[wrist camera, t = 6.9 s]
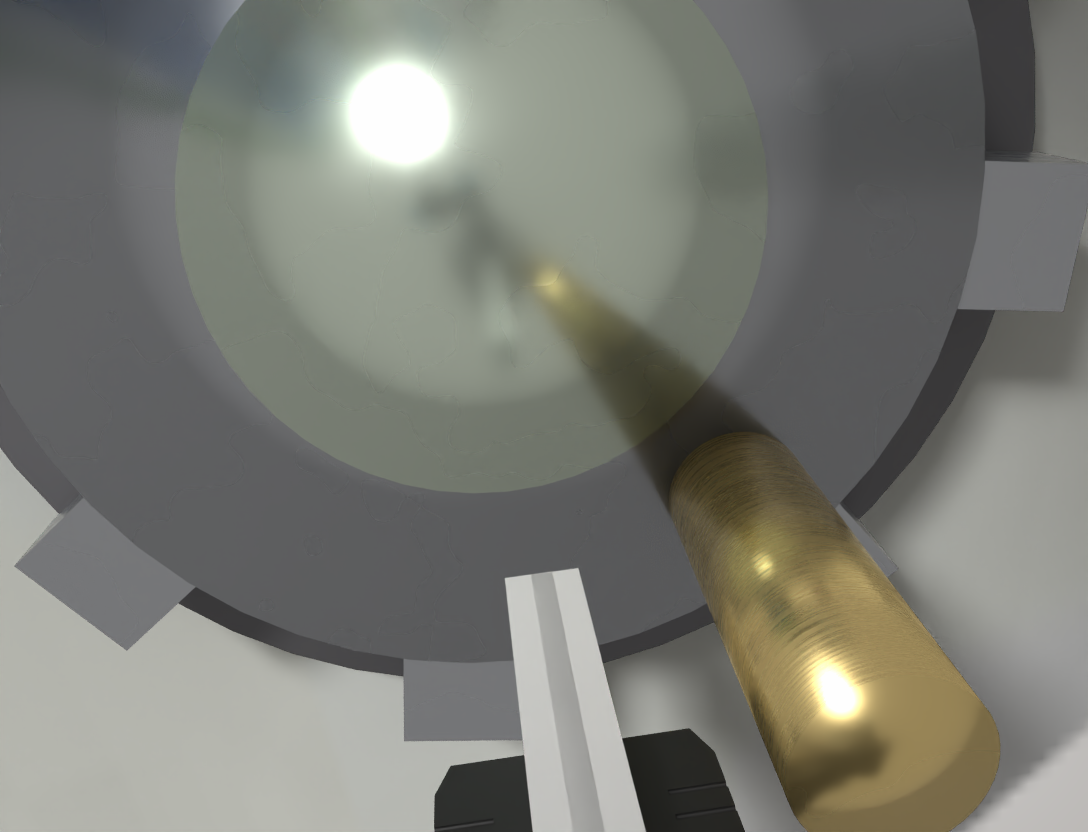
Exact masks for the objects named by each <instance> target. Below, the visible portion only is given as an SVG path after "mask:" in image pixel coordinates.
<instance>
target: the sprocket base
mask: <svg viewBox="0 0 1088 832" xmlns="http://www.w3.org/2000/svg"><path fill="white" fill-rule="evenodd" d="M968 3H969V7H970V11H971V15H972V19H973V23H974V26H975V30H976V35H977V43H978V51H979V59H980V67H981V75H982V83H983V91H984V99H985V150H995V151H1023V152H1032V150H1033V141H1034V133H1035V52H1034V44H1033V36H1032V29H1031V21H1030V14H1029V6H1028V0H968ZM994 312H995V310H975V309H957V311H956V313H955V316H954V319H953V321H952V324H951V326H950V329H949V331H948V334H947V337H946V339H945V342H944V344H943V347H942V349H941V352H940V355H939V357H938V360H937V362H936V364H935V366H934V367H933V369H932V371H931V373H930V375H929V377H928V379H927V381H926V382H925V384H924V386H923V388H922V390H921V392H920V394H919V396H918V397H917V399H916V401H915V403H914V405H913V407H912V409H911V411H910V412H909V414H908V416H907V418H906V419H905V420H904V422H903V423H902V425H901V426H900V428H899V429H898V430H897V432H896V433H895V435H894V436H893V438H892V439H891V441H890V442H889V443H888V445H887V446H886V448H885V449H884V451H883V452H882V453H881V455H880V456H879V458H878V459H877V461H876V462H875V464H874V465H873V466H872V467H871V469H870V470H869V471H868V472H867V473H866V474H865V475H864V476H863V478H862V479H861V480H860V481H859V482H858V483H857V484H856V486H855V487H854V488H853V489H852V490H851V491H850V492H849V493H848V495H847V496H846V497H845V498H844V499H843V500H842V502H843V503H844V504H845V505H846V506H847V507H848V508H849V509H850V510H851V511H852V513H853V514H854V515H855V516H856V517H857V518H858V519H859V518H860V517H861V516H862V515H863V514H864V513H866V512H867V511H868V510H869V509H870V508H871V507H872V506H873V505H874V504H875V502H876V501H877V500H878V499H879V498H880V497H881V495H882V494H883V493H884V492H885V491H886V490H887V488H888V487H889V486H890V485H891V484H892V483H893V481H894V480H895V479H896V478H897V477H898V476H899V474H900V473H901V472H902V471H903V470H904V469H905V467H906V466H907V465H908V464H909V463H910V462H911V460H912V459H913V458H914V457H915V456H916V454H917V453H918V451H919V450H920V448H921V447H922V445H923V444H924V442H925V441H926V439H927V438H928V436H929V435H930V433H931V432H932V430H933V429H934V427H935V426H936V424H937V423H938V421H939V420H940V418H941V417H942V415H943V414H944V413H945V411H946V410H947V408H948V407H949V405H950V404H951V402H952V401H953V399H954V397H955V395H956V393H957V391H958V389H959V387H960V385H961V383H962V381H963V379H964V377H965V375H966V374H967V372H968V370H969V368H970V366H971V364H972V362H973V360H974V358H975V356H976V354H977V352H978V350H979V348H980V346H981V345H982V343H983V341H984V338H985V336H986V333H987V330H988V328H989V325H990V322H991V320H992V317H993V314H994ZM0 448H1V449H2V450H3V452H4V453H5V454H6V456H7V457H8V458H9V460H10V461H11V462H12V464H13V465H14V467H15V468H16V469H17V470H18V471H19V472H20V473H21V474H22V475H23V476H24V477H25V478H26V479H27V480H28V481H29V483H30V484H31V485H32V486H33V487H34V488H35V489H36V490H37V491H38V492H39V493H40V494H41V495H42V496H43V497H44V498H45V499H46V501H47V502H48V503H49V504H50V505H51V506H52V507H53V508H54V509H55V510H56V511H57V512H58V513H59V514H60V513H61V512H62V511H63V510H64V509H65V508H66V507H67V506H68V505H69V504H70V503H71V502H72V501H73V500H74V499H75V498H76V497H77V496H78V495H79V494H80V493H79V492H78V490H77V489H76V488H75V487H74V486H73V485H72V484H71V483H70V481H69V480H68V479H67V478H66V477H65V476H64V475H63V473H62V472H61V471H60V470H59V469H58V468H57V467H56V466H55V464H54V463H53V462H52V461H51V460H50V459H49V458H48V457H47V455H46V454H45V452H44V451H43V449H42V448H41V446H40V445H39V444H38V442H37V441H36V439H35V438H34V436H33V435H32V433H31V432H30V431H29V429H28V428H27V426H26V425H25V423H24V422H23V420H22V419H21V418H20V416H19V415H18V413H17V412H16V410H15V409H14V407H13V406H12V404H11V403H10V401H9V400H8V398H7V396H6V394H5V392H4V390H3V388H2V386H1V384H0ZM179 604H181V605H183V606H185V607H187V608H189V609H190V610H192V611H194V612H196V613H198V614H200V615H202V616H204V617H206V618H208V619H210V620H212V621H214V622H216V623H218V624H220V625H222V626H224V627H226V628H228V629H230V630H232V631H234V632H237V633H239V634H242V635H245V636H247V637H250V638H253V639H255V640H258V641H261V642H263V643H266V644H269V645H271V646H274V647H277V648H279V649H282V650H285V651H287V652H290V653H292V654H296V655H300V656H304V657H308V658H312V659H316V660H320V661H324V662H328V663H331V664H335V665H339V666H343V667H347V668H351V669H355V670H362V671H369V672H376V673H384V674H391V675H398V676H404V659H402V658H396V657H390V656H384V655H378V654H372V653H366V652H360V651H354V650H350V649H347V648H343V647H340V646H336V645H332V644H329V643H325V642H322V641H318V640H315V639H311V638H308V637H304V636H300V635H297V634H295V633H292V632H290V631H287V630H285V629H282V628H280V627H277V626H275V625H272V624H270V623H268V622H265V621H263V620H260V619H258V618H255V617H253V616H250V615H248V614H245V613H243V612H241V611H239V610H237V609H235V608H233V607H232V606H230V605H228V604H226V603H224V602H222V601H221V600H219V599H217V598H215V597H213V596H211V595H210V594H208V593H206V592H204V591H202V590H200V589H199V588H197V587H195V588H194V589H193V590H192V591H191V592H190V593H189V594H187V595H186V596H185V597H184V598H183V599H182V600H181V601H180V602H179ZM713 622H714V620H713V617H712V615H711V612H710V610H709V607H708V605H707V604H705V605H703V606H701V607H699V608H698V609H696V610H694V611H692V612H690V613H688V614H685V615H683V616H680V617H678V618H676V619H673V620H671V621H668V622H666V623H664V624H661V625H659V626H656V627H654V628H651V629H649V630H647V631H644V632H642V633H639V634H636V635H633V636H630V637H626V638H623V639H619V640H616V641H612V642H609V643H605V644H602V645H598V647H599V651H600V655H601V659H602V662H603V663H605V662H608V661H611V660H615V659H618V658H621V657H624V656H627V655H631V654H634V653H637V652H640V651H643V650H647V649H650V648H653V647H656V646H660V645H663V644H665V643H667V642H669V641H672V640H674V639H676V638H679V637H681V636H683V635H685V634H688V633H690V632H692V631H695V630H697V629H699V628H701V627H704V626H706V625H708V624H710V623H713Z"/></svg>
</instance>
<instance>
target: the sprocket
mask: <svg viewBox="0 0 1088 832" xmlns="http://www.w3.org/2000/svg"><path fill="white" fill-rule="evenodd" d="M1087 206H1088V163H1086V162H1082V161H1077V160H1072V159H1068V158H1063V157H1059V156H1054V155H1049V154H1045V153H1040V152H1023V151H995V150H985V99H984V91H983V83H982V75H981V67H980V59H979V51H978V43H977V35H976V30H975V26H974V23H973V19H972V15H971V11H970V7H969V3H968V0H0V384H1V386H2V388H3V390H4V392H5V394H6V396H7V398H8V400H9V401H10V403H11V404H12V406H13V407H14V409H15V410H16V412H17V413H18V415H19V416H20V418H21V419H22V420H23V422H24V423H25V425H26V426H27V428H28V429H29V431H30V432H31V433H32V435H33V436H34V438H35V439H36V441H37V442H38V444H39V445H40V446H41V448H42V449H43V451H44V452H45V454H46V455H47V457H48V458H49V459H50V460H51V461H52V462H53V463H54V464H55V466H56V467H57V468H58V469H59V470H60V471H61V472H62V473H63V475H64V476H65V477H66V478H67V479H68V480H69V481H70V483H71V484H72V485H73V486H74V487H75V488H76V489H77V490H78V492H79V493H80V494H79V495H78V496H77V497H76V498H75V499H74V500H73V501H72V502H71V503H70V504H69V505H68V506H67V507H66V508H65V509H64V510H63V511H62V512H61V513H60V514H59V515H58V516H57V517H56V518H55V519H54V520H53V521H52V522H51V523H50V525H49V526H48V527H47V528H46V529H45V530H44V532H43V533H42V534H41V535H40V536H39V538H38V539H37V540H36V541H35V542H34V543H33V545H32V546H31V547H30V548H29V549H28V550H27V552H26V553H25V554H24V555H23V556H22V558H21V559H20V560H19V561H18V562H17V563H16V565H15V567H16V568H18V569H19V570H20V571H22V572H23V573H24V574H26V575H27V576H28V577H30V578H31V579H32V580H34V581H35V582H36V583H38V584H39V585H40V586H42V587H43V588H44V589H46V590H47V591H48V592H50V593H51V594H52V595H53V596H55V597H56V598H57V599H59V600H60V601H61V602H63V603H64V604H65V605H67V606H68V607H69V608H71V609H72V610H73V611H75V612H76V613H77V614H79V615H80V616H81V617H83V618H84V619H85V620H87V621H88V622H89V623H91V624H92V625H93V626H95V627H96V628H97V629H99V630H100V631H101V632H103V633H104V634H105V635H107V636H108V637H109V638H111V639H112V640H113V641H115V642H116V643H117V644H119V645H120V646H121V647H123V648H124V649H125V650H128V649H129V648H130V647H131V646H132V645H133V644H135V643H136V642H137V641H138V640H139V639H140V638H141V637H142V636H143V635H144V634H145V633H146V632H147V631H149V630H150V629H151V628H152V627H153V626H154V625H155V624H156V623H157V622H158V621H159V620H160V619H162V618H163V617H164V616H165V615H166V614H167V613H168V612H169V611H170V610H171V609H172V608H173V607H174V606H176V605H177V604H178V603H179V602H180V601H181V600H182V599H183V598H184V597H185V596H186V595H187V594H189V593H190V592H191V591H192V590H193V589H194V588H195V587H197V588H199V589H200V590H202V591H204V592H206V593H208V594H210V595H211V596H213V597H215V598H217V599H219V600H221V601H222V602H224V603H226V604H228V605H230V606H232V607H233V608H235V609H237V610H239V611H241V612H243V613H245V614H248V615H250V616H253V617H255V618H258V619H260V620H263V621H265V622H268V623H270V624H272V625H275V626H277V627H280V628H282V629H285V630H287V631H290V632H292V633H295V634H297V635H300V636H304V637H308V638H311V639H315V640H318V641H322V642H325V643H329V644H332V645H336V646H340V647H343V648H347V649H350V650H354V651H360V652H366V653H372V654H378V655H384V656H390V657H396V658H402V659H404V741H471V740H523V738H522V729H521V720H520V711H519V702H518V693H517V684H516V675H515V666H514V657H513V648H512V639H511V630H510V621H509V612H508V603H507V593H506V584H505V578H509V577H516V576H524V575H531V574H538V573H545V572H554V571H561V570H568V569H575V568H578V569H579V573H580V577H581V580H582V584H583V588H584V592H585V596H586V600H587V604H588V608H589V612H590V616H591V620H592V623H593V627H594V631H595V635H596V639H597V643H598V645H602V644H605V643H609V642H612V641H616V640H619V639H623V638H626V637H630V636H633V635H636V634H639V633H642V632H644V631H647V630H649V629H651V628H654V627H656V626H659V625H661V624H664V623H666V622H668V621H671V620H673V619H676V618H678V617H680V616H683V615H685V614H688V613H690V612H692V611H694V610H696V609H698V608H699V607H701V606H703V605H705V604H707V605H708V607H709V610H710V612H711V615H712V617H713V620H714V622H715V624H716V627H717V629H718V632H719V634H720V637H721V639H722V641H723V644H724V646H725V649H726V651H727V654H728V656H729V658H730V661H731V663H732V666H733V668H734V671H735V673H736V676H737V678H738V680H739V683H740V685H741V688H742V690H743V693H744V695H745V697H746V700H747V702H748V705H749V707H750V710H751V712H752V714H753V717H754V719H755V722H756V724H757V727H758V729H759V731H760V734H761V736H762V739H763V741H764V744H765V746H766V748H767V751H768V753H769V756H770V758H771V761H772V763H773V765H774V768H775V770H776V773H777V775H778V778H779V780H780V783H781V785H782V787H783V790H784V792H785V795H786V797H787V800H788V802H789V804H790V807H791V809H792V811H793V813H794V815H795V816H796V818H797V819H798V821H799V822H800V824H801V825H802V826H803V827H804V828H805V829H806V830H807V831H808V832H949V831H950V830H952V829H953V828H955V827H956V826H957V825H959V824H960V823H961V822H962V821H964V820H965V819H966V818H967V817H968V816H969V815H970V814H971V813H972V812H973V811H974V810H975V809H976V808H977V806H978V805H979V804H980V803H981V802H982V800H983V799H984V797H985V796H986V794H987V792H988V791H989V789H990V787H991V785H992V783H993V781H994V779H995V776H996V773H997V770H998V766H999V760H1000V739H999V733H998V730H997V727H996V724H995V722H994V720H993V718H992V716H991V714H990V712H989V711H988V710H987V708H986V707H985V706H984V705H983V703H982V702H981V701H980V699H979V698H978V697H977V695H976V694H975V693H974V691H973V690H972V689H971V687H970V686H969V685H968V683H967V682H966V681H965V680H964V678H963V677H962V676H961V674H960V673H959V672H958V670H957V669H956V668H955V666H954V665H953V664H952V662H951V661H950V660H949V658H948V657H947V656H946V654H945V653H944V652H943V651H942V649H941V648H940V647H939V645H938V644H937V643H936V641H935V640H934V639H933V637H932V636H931V635H930V633H929V632H928V631H927V629H926V628H925V627H924V626H923V624H922V623H921V622H920V620H919V619H918V618H917V616H916V615H915V614H914V612H913V611H912V610H911V608H910V607H909V606H908V604H907V603H906V602H905V600H904V599H903V598H902V597H901V595H900V594H899V593H898V591H897V590H896V589H895V587H894V586H893V585H892V583H891V582H890V581H889V579H888V578H887V577H888V576H890V575H891V574H892V573H894V572H895V571H896V570H898V568H897V566H896V565H895V564H894V563H893V561H892V560H891V559H890V558H889V556H888V555H887V554H886V552H885V551H884V550H883V549H882V547H881V546H880V545H879V544H878V542H877V541H876V540H875V539H874V537H873V536H872V535H871V534H870V532H869V531H868V530H867V529H866V527H865V526H864V525H863V524H862V522H861V521H860V520H859V519H858V518H857V517H856V516H855V515H854V514H853V513H852V511H851V510H850V509H849V508H848V507H847V506H846V505H845V504H844V503H843V502H842V500H843V499H844V498H845V497H846V496H847V495H848V493H849V492H850V491H851V490H852V489H853V488H854V487H855V486H856V484H857V483H858V482H859V481H860V480H861V479H862V478H863V476H864V475H865V474H866V473H867V472H868V471H869V470H870V469H871V467H872V466H873V465H874V464H875V462H876V461H877V459H878V458H879V456H880V455H881V453H882V452H883V451H884V449H885V448H886V446H887V445H888V443H889V442H890V441H891V439H892V438H893V436H894V435H895V433H896V432H897V430H898V429H899V428H900V426H901V425H902V423H903V422H904V420H905V419H906V418H907V416H908V414H909V412H910V411H911V409H912V407H913V405H914V403H915V401H916V399H917V397H918V396H919V394H920V392H921V390H922V388H923V386H924V384H925V382H926V381H927V379H928V377H929V375H930V373H931V371H932V369H933V367H934V366H935V364H936V362H937V360H938V357H939V355H940V352H941V349H942V347H943V344H944V342H945V339H946V337H947V334H948V331H949V329H950V326H951V324H952V321H953V319H954V316H955V313H956V311H957V309H975V310H1017V311H1059V312H1064V307H1065V303H1066V299H1067V294H1068V290H1069V285H1070V281H1071V277H1072V272H1073V268H1074V263H1075V259H1076V255H1077V250H1078V246H1079V242H1080V237H1081V233H1082V228H1083V224H1084V220H1085V215H1086V211H1087Z"/></svg>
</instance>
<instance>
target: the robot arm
mask: <svg viewBox="0 0 1088 832" xmlns="http://www.w3.org/2000/svg"><path fill="white" fill-rule="evenodd" d="M505 584H506V593H507V603H508V612H509V621H510V630H511V639H512V648H513V657H514V666H515V675H516V684H517V693H518V702H519V711H520V720H521V729H522V738H523V747H524V755H522V756H515V757H509V758H502V759H495V760H488V761H482V762H475V763H468V764H461V765H454V766H451V767H450V768H449V770H448V772H447V774H446V776H445V778H444V779H443V781H442V783H441V785H440V787H439V789H438V791H437V792H436V794H435V808H434V829H435V832H745V830H744V828H743V825H742V822H741V820H740V817H739V815H738V812H737V811H736V809H735V804H734V801H733V799H732V796H731V794H730V791H729V788H728V787H727V786H726V781H725V778H724V775H723V773H722V770H721V767H720V765H719V762H718V760H717V757H716V754H715V752H714V751H713V750H712V749H711V748H710V747H709V746H708V745H707V744H706V743H705V742H704V741H702V740H701V739H700V738H699V737H698V736H697V735H696V734H695V733H694V732H693V731H692V730H691V729H690V728H689V729H682V730H675V731H669V732H662V733H655V734H649V735H642V736H635V737H628V738H622V737H621V733H620V729H619V725H618V721H617V717H616V713H615V709H614V705H613V701H612V698H611V694H610V690H609V686H608V682H607V678H606V674H605V670H604V666H603V662H602V659H601V655H600V651H599V647H598V643H597V639H596V635H595V631H594V627H593V623H592V620H591V616H590V612H589V608H588V604H587V600H586V596H585V592H584V588H583V584H582V580H581V577H580V573H579V569H578V568H575V569H568V570H561V571H554V572H545V573H538V574H531V575H524V576H516V577H509V578H505Z"/></svg>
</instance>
